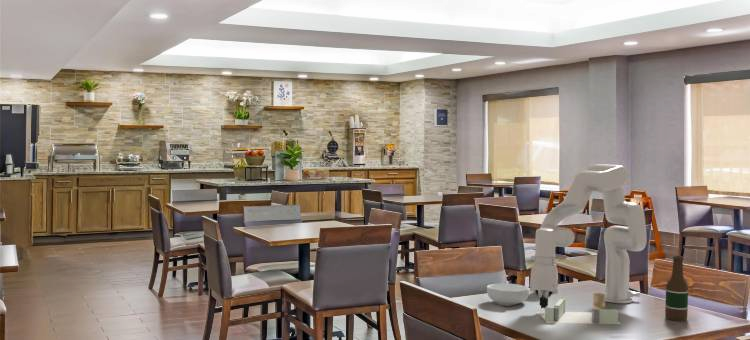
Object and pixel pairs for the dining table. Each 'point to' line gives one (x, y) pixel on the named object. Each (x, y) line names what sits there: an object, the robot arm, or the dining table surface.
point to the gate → (561, 306)
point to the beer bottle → (677, 293)
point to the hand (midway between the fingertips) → (543, 307)
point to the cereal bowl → (507, 293)
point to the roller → (598, 301)
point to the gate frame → (581, 316)
